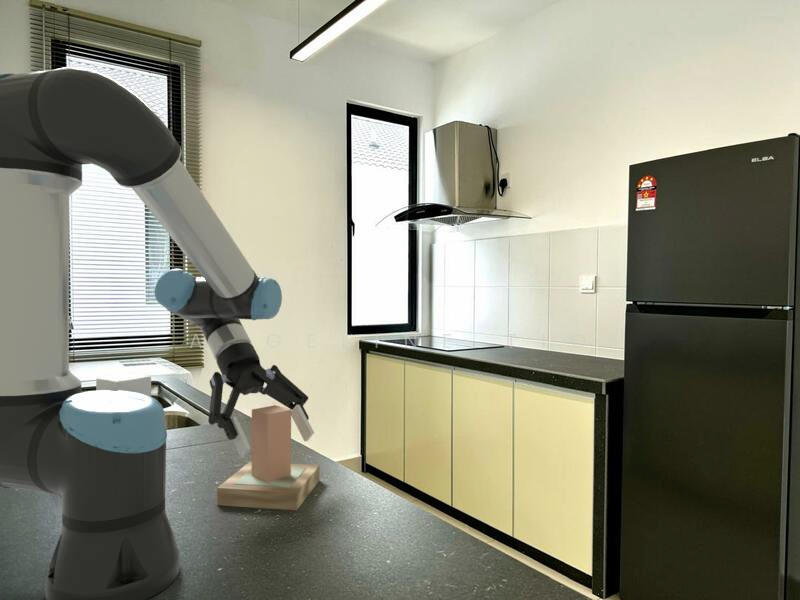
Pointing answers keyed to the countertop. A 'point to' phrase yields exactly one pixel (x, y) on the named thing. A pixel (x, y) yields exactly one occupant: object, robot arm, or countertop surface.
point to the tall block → (271, 443)
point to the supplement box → (125, 383)
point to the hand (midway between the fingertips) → (279, 444)
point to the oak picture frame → (269, 488)
